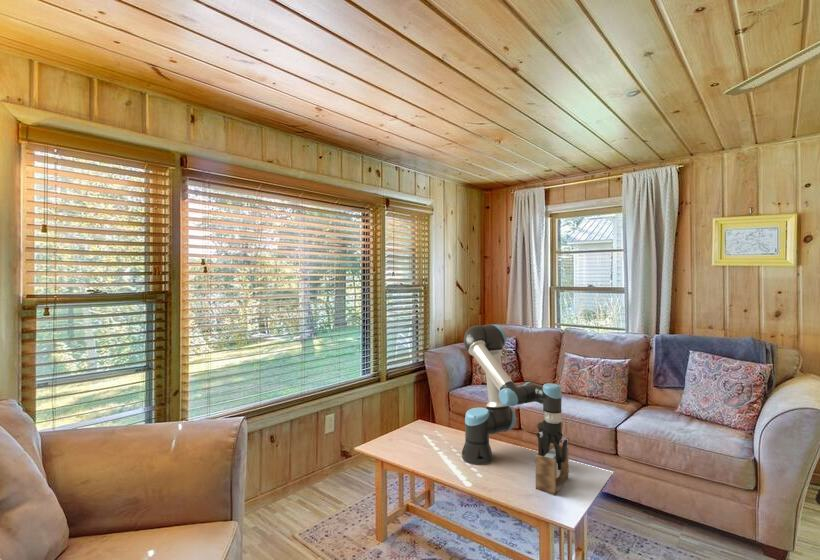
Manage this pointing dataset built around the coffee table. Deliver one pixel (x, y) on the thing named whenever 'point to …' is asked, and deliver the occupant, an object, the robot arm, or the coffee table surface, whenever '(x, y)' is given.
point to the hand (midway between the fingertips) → (552, 475)
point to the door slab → (552, 456)
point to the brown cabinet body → (550, 473)
